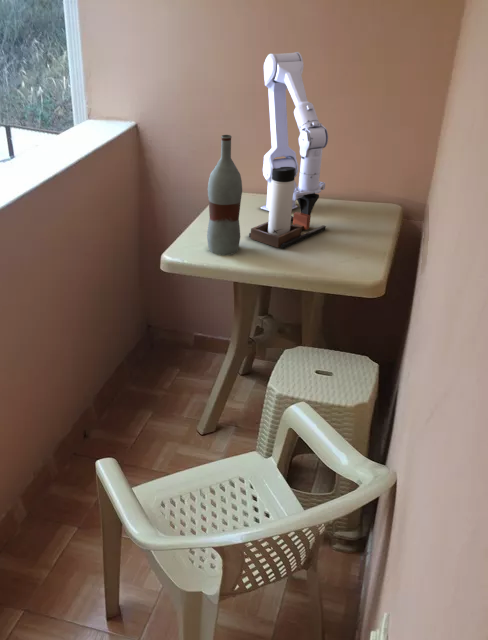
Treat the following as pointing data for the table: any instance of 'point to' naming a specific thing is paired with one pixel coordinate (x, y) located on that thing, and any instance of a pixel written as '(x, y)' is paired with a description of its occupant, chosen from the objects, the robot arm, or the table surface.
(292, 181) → the travel mug
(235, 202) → the bottle
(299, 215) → the carrier
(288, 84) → the robot arm
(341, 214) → the table surface
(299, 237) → the rails
